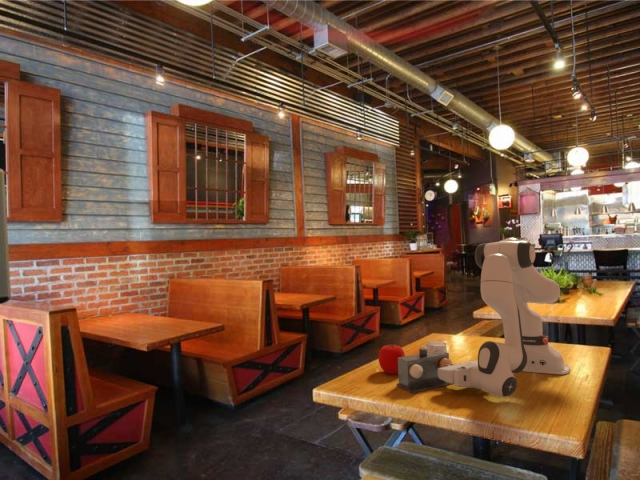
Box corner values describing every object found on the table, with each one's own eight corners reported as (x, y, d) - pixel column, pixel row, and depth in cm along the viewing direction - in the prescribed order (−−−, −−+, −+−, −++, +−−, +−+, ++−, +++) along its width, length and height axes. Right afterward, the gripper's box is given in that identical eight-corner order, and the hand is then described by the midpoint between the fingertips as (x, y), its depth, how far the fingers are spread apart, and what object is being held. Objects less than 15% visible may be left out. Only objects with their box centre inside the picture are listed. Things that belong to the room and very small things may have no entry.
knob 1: (423, 377, 167) (422, 364, 167) (412, 379, 165) (412, 366, 165) (407, 371, 176) (407, 358, 176) (397, 373, 173) (397, 360, 173)
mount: (458, 382, 173) (457, 354, 173) (413, 393, 163) (412, 364, 163) (441, 375, 182) (440, 349, 182) (396, 385, 172) (395, 358, 172)
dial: (428, 354, 175) (428, 345, 175) (425, 356, 172) (425, 347, 172) (421, 353, 177) (420, 345, 177) (418, 355, 174) (417, 346, 174)
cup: (448, 374, 183) (447, 346, 183) (426, 374, 185) (425, 346, 185) (446, 368, 192) (445, 341, 192) (425, 367, 194) (424, 340, 194)
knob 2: (452, 370, 174) (451, 358, 174) (442, 372, 172) (442, 360, 172) (436, 364, 183) (435, 353, 183) (427, 366, 180) (426, 354, 180)
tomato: (411, 374, 185) (410, 345, 185) (388, 379, 180) (387, 348, 180) (395, 367, 196) (394, 339, 196) (373, 371, 192) (372, 342, 192)
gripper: (493, 361, 165) (466, 353, 178) (453, 370, 156) (427, 361, 169) (494, 378, 166) (467, 369, 178) (454, 388, 156) (428, 378, 169)
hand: (447, 365), depth 173 cm, fingers closed, pressing on knob 2
